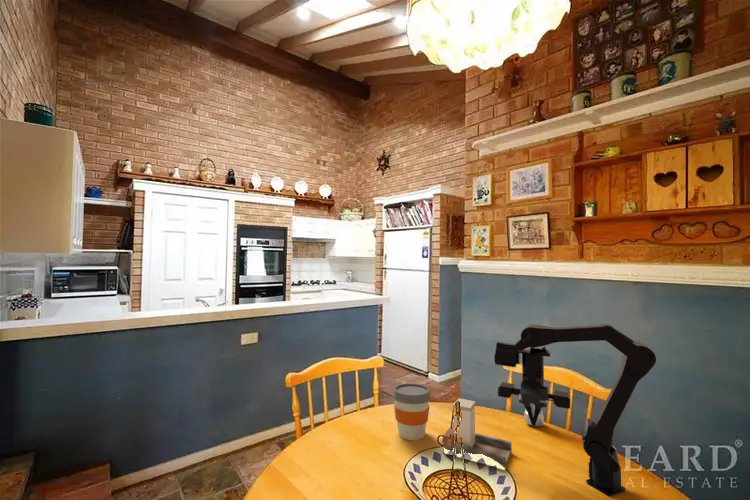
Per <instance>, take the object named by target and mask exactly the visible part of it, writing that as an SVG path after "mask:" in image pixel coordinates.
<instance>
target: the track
mask: <svg viewBox="0 0 750 500" xmlns="http://www.w3.org/2000/svg"><path fill="white" fill-rule="evenodd" d="M452 424H453V426H452V429H451V425H450V426H449V427H448V429H447V430H446V431H445V432H444V434H442V448H443V447H444V448H445V449H447V450H450V451H452V450H453V448H454V422H453V423H452ZM451 433H453V434H452V436H451V440H450V441H449V439H450V434H451ZM463 449H464V453H465V452H466V453H470V454H471V453H472V454H483V455H485V456H487V457H490V458H492V459H494V460H495V461H497V462H499V463H500V464H502V465H503V466H504V467H506V468H507V467H508V464H509V462H510V459H511V456H512V453H513V452H512V451H513V449H512V441H510V440H508V439H507V440H506V439H502V438H497V437H493V436H489V435H484V434H480V433H476V432H475V443H474V445H473V447H470V446H466V445H463ZM459 453H460V454H461V444H458V443H456V454H459Z"/></svg>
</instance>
